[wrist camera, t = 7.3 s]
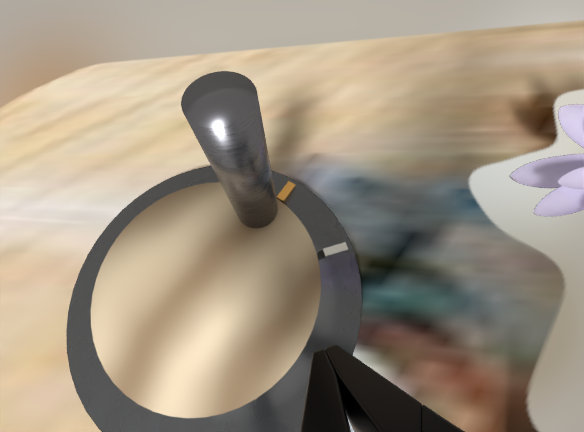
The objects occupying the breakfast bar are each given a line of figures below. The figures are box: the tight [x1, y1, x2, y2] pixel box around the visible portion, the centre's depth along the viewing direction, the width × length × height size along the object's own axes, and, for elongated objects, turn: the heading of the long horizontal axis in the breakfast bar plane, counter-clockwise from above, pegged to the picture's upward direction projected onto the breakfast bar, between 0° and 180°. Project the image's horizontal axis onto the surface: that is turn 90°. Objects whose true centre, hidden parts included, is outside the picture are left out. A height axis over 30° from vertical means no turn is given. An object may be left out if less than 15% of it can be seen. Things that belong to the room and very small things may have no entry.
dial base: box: [67, 166, 362, 432], centre depth 20 cm, size 21×21×1 cm
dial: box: [91, 71, 321, 418], centre depth 14 cm, size 15×15×12 cm
